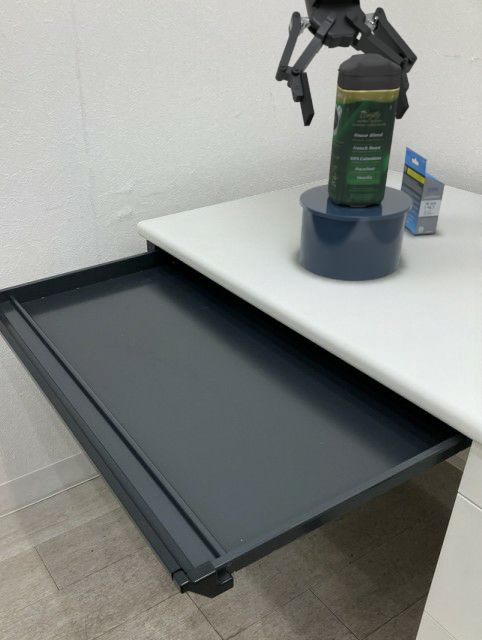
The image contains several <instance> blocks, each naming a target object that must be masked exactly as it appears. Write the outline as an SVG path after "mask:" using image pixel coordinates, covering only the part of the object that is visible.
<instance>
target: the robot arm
mask: <svg viewBox="0 0 482 640" xmlns="http://www.w3.org/2000/svg"><path fill="white" fill-rule="evenodd" d="M304 5H305V10H306V14H307V16H302V15H301V13H300V12H299V11H293V12H292V14H291V17H290V21H289V24H288V27H287V28H288V29H287V30H288V38H287V41H286V44H285V46H284V49H283V51H282V55H281V57H280V61H279V63H278V67H277V70H276V72H275V76H274V78H275V80H276V82H282V81H287V82H286V86H287V88H289V89H290V91H291V92H290V93H291V97H292V100H293V102H294V103H299V106H300V110H301V116H302V122H303V126H304V127H310V125H311V124H312V121H313V119H314V117H315V115H316V113H315V108H314V104H313V98H312V93H311V87H310V83H309V77H308V73H307V71H306V70H307V68H308V66H309V65H310V63H311V62H312V61H313V59H314V58H315V57H316V54H319V52H320V51H321V49H322V48H323V47H324V46H325V47H327V48H328V49H335V48H339V47H340V48H350V47H352V48H353V49H354V51H357V52H359V51H360V52H362V54H370V53H371V54H381V55H382V56H383V57H384V58H386V59H388V60H390V61H392V62H394V63H395V64H397V65H399V66H400V67H401V79H400V86H399V87H400V89H399V96H398V103H397V109H396V117H395V120H402V119H403V117H404V115H405V114H406V113H407V111H408V109H409V108H410V104H409V100H408V96H407V91H408V90H409V89H410V82H409V77H408V73H410V72H411V70H412V69H413V67H414V66H415V64H416V62H417V60H418V56H417V55H416V53H415V52H414V51H413V50H412V48H410V46H409V44H407V42H406V41H405V40H404V39H403V37H402V35H400V34H399V32H398V31H397V30H396V28H395V27H393V25H392V24H391V22H390V21H389V20H388V17H387V15H386V12H385V10H384V8H383V7H381V6H378V7H376V8H375V11H374V12H371V13H370V12H369V13H365V12H364V10H363V9H362V8H361V7H362V6H361V0H304ZM306 29H307V30H308V31H309V33H310V34H311V35H313V37H312V39H311V40H310V41H309V43H308V45H307V46H306V47H305V49H304V50H303V52H301V54H300V55H299V56H298V59H297V60H296V61H295V63H294V64H293V66H290V65H289V64H290V61H291V59H292V55H293V53H294V50H295V48H296V45H297V41H298V38H299V37H300V36H301V35H302V34H303V33H304V31H305V30H306ZM359 34H360V37H359V38H358V36H359Z"/></svg>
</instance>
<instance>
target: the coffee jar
mask: <svg viewBox="0 0 482 640" xmlns="http://www.w3.org/2000/svg"><path fill="white" fill-rule="evenodd" d="M337 71H338V73H337V81H336V83H337V84H336V91H335V92H336V94H335V104H334V105H335V106H334V107H335V108H334V116H333V117H334V118H333V126H332V127H333V128H332V129H333V131H332V139H331V149H330V151H331V152H330V161H329V170H328V171H329V173H328V183H327V184H328V193H329V196H330V198H331V200H332V201H333V202H334V203H337V204H345V205H350V206H351V207H365V206H367V205H372V204H379V203H381V202H382V201H383V199H384V195H385V188H386V186H387V179H388V172H389V166H390V159H391V152H392V145H393V137H394V130H395V122H396V109H397V103H398V96H399V89H400V87H399V86H400V79H401V67H400V66H399V65H397V64H395V63H394V62H392V61H390V60H388V59H386V58H384V57H383V56H382V55H381V54H371V53H370V54H364V53H357V54H352V55H350V57H349V58H347V59H345V60H344V61H342V62H341V63H340V64H339V67H338V68H337Z"/></svg>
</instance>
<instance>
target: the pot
mask: <svg viewBox="0 0 482 640" xmlns="http://www.w3.org/2000/svg"><path fill="white" fill-rule="evenodd" d="M298 201H299V205H300V207H301V208H302V209H301V223H300V224H301V225H300V240H299V241H300V243H299V259H298V260H299V263H300V264H301V266H302V267H303V268H304V269H305V270H307V272H308V271H309V273H312V274H314V275H317V276H320V277H323V278H327V279H331V280H336V281H337V280H338V281H345V282H346V281H348V282H361V281H362V282H363V281H373V280H378V279H383V278H385V277H387V276H389V275H391V274H394V273H395V272H396V271H397V270H398V269H399V266H400V262H401V261H400V260H401V255H402V250H403V242H404V237H405V231H406V226H405V224H406V218H407V212H408V211H409V210H410V209H411V208H412V203H413V201H412V198H411V197H410V196H409V195H408V194H406V193H405V192H403V191H401V189H398V188H395V187H392V186H387V185H386V188H385V195H384V199H383V201H382V202H381V203H379V204H372V205H367V206H365V207H351V206H350V205H345V204H337V203H334V202H333V201H332V200H331V198H330V196H329V193H328V183H327V184H322V185H317V186H314V187H311V188H308V189H306V190H305V191H303V192H301V194H300V196H299V200H298Z"/></svg>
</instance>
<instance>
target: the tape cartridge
mask: <svg viewBox="0 0 482 640" xmlns="http://www.w3.org/2000/svg"><path fill="white" fill-rule="evenodd" d="M413 160H415V161H416V162H417V163H418V164H416V163H414V162H413ZM427 161H428V159H427V158H425V157H423V156H422V155H420V154H419V153H418V152H416V151H414V150H412V149H411V148H410V147H408V146H406V147H405V155H404V166H403V171H402V178H401V185H400V191H403V192H405V193H406V194H408V195H409V196H410V197H411V198H412V201H413V203H412V208H411V209H410V210H409V211H408V212H407V218H406V224H405V228H407V229H408V230H409V231H410V232H411V233H412V234H413V235H414V236H417V235H432V234H436V231H437V226H438V220H439V216H440V210H441V205H442V201H443V200H442V199H443V195H444V190H445V187H446V186H445V183H444V182H442V181H441V180H439V179H437V178H436V177H434V176H433V175H431V174H430V173H429V172H427Z"/></svg>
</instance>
